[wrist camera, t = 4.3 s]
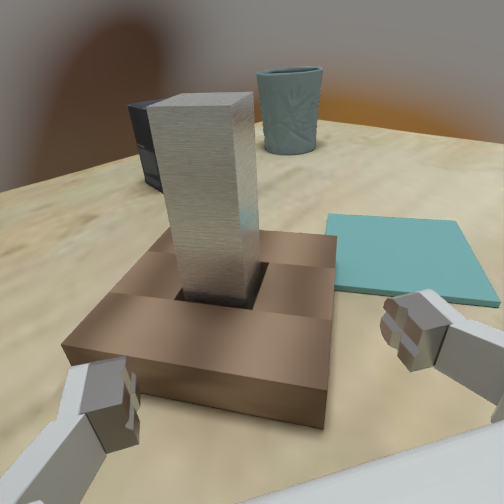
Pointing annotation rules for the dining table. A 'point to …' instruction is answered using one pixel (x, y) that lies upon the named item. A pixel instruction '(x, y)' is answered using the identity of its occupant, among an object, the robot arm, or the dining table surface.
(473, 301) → the mat
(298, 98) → the grey-green cup
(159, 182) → the small box
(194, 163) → the metal bar
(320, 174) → the dining table surface
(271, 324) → the socket block
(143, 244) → the dining table surface
